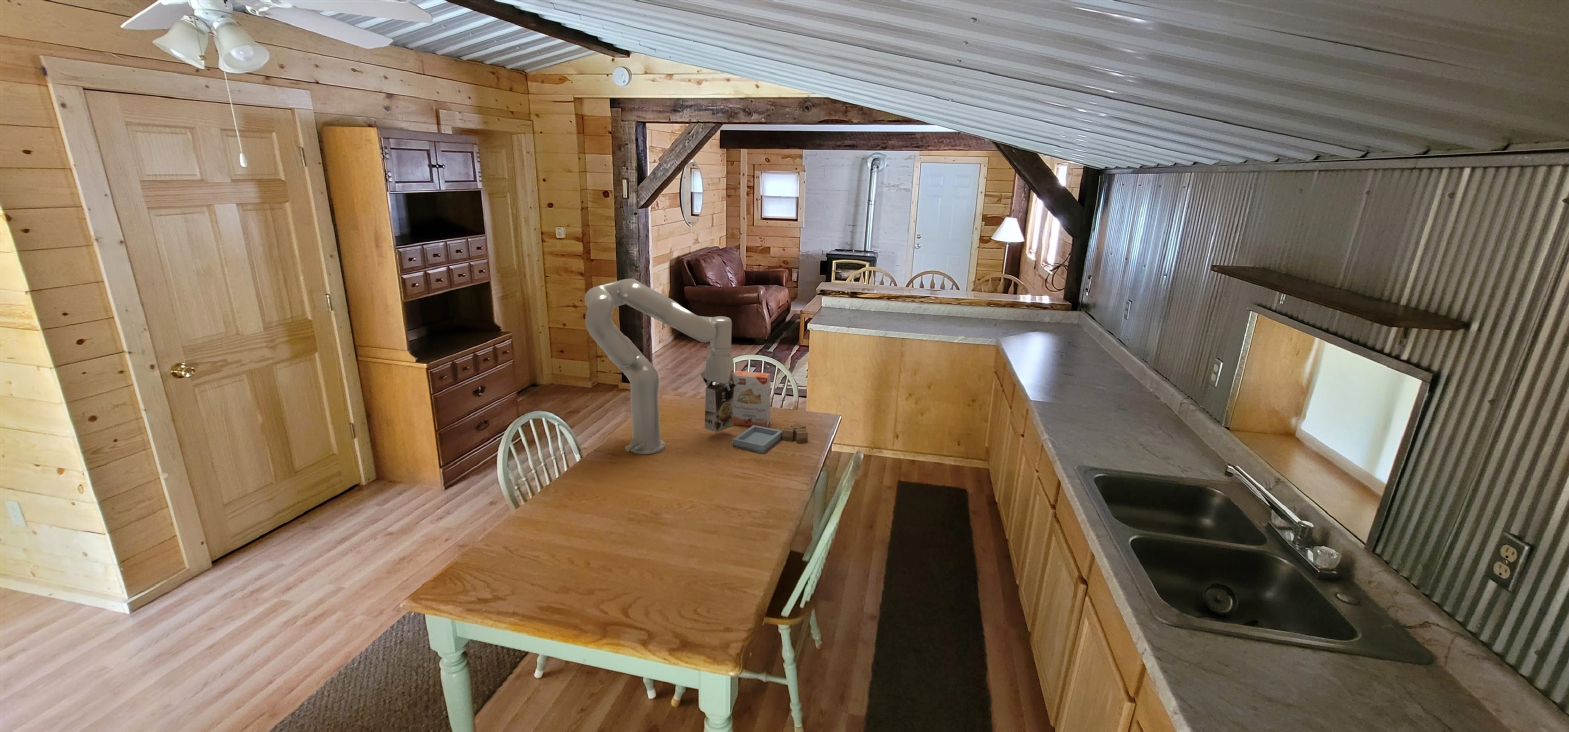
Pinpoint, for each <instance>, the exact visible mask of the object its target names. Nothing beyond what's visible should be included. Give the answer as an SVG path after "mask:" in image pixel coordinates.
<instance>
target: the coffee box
mask: <svg viewBox="0 0 1569 732" xmlns="http://www.w3.org/2000/svg"><path fill="white" fill-rule="evenodd" d="M726 390H727V387H726V385H725V384H722V383H716V384H713V386H709V387H707V386H706V387H705V402H704V403H705V405H704V406H705V407H704V429H706V430H708V431H710V432H714V433H719V432H721V431H722V432H723V431H724V430H727V429H729V428H732V427H733V426H734V425H733V400H734V388H733V389H732V398H731V399H730V400H728V401H726Z"/></svg>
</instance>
